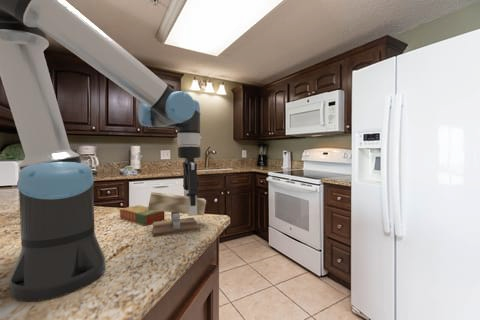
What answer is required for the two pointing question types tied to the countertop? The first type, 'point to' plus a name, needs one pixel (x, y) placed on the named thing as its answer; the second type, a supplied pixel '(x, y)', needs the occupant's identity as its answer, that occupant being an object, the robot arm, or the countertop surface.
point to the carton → (141, 215)
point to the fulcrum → (174, 225)
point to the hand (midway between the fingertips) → (190, 211)
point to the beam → (173, 203)
